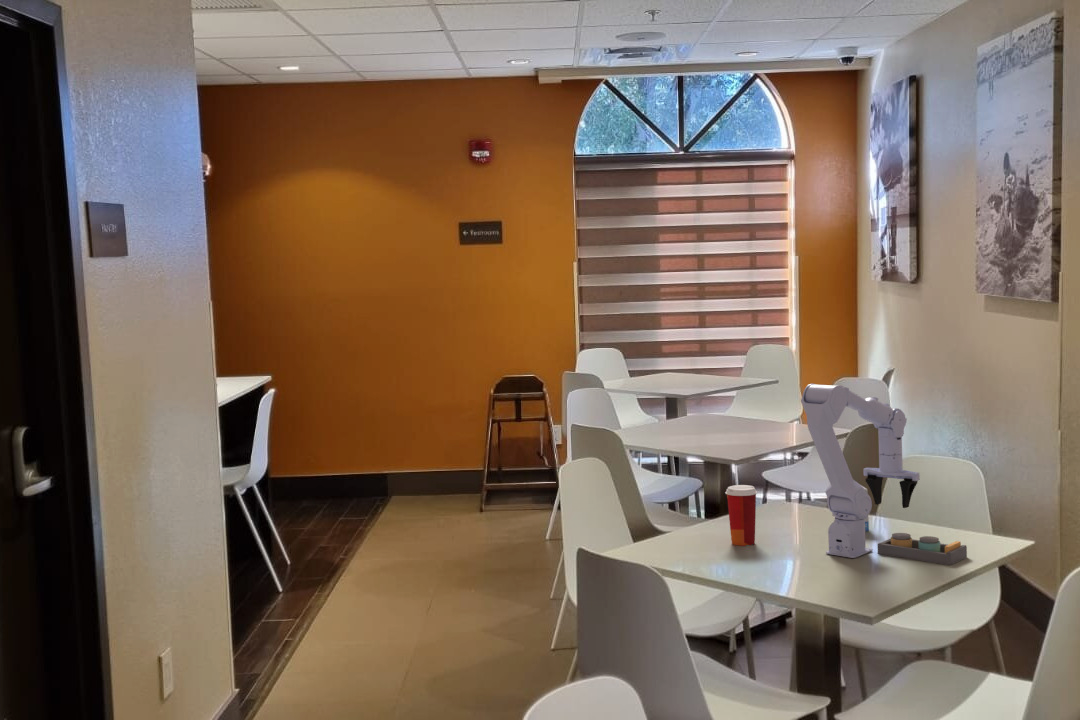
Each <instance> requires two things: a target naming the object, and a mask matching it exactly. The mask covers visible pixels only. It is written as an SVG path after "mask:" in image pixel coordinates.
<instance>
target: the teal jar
mask: <svg viewBox="0 0 1080 720" xmlns="http://www.w3.org/2000/svg"><path fill="white" fill-rule="evenodd" d="M918 540H919V541H918V547H919V549H922V550H929V551H935V552H940V543H941V541H940V539H939V537H938V536H937V537H936V536H928V535H926V536H925V535H924V536H921V537H919V539H918Z"/></svg>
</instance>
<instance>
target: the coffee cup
mask: <svg viewBox="0 0 1080 720" xmlns="http://www.w3.org/2000/svg"><path fill="white" fill-rule="evenodd" d="M724 493H725V495H726V497H727V508H728V509H727V510H728V519H729V528H730V529H729V530H730V540H731V544H732V545H734V546H737V545H738V547H747V546H746V545H750V546H753V545H755V543H756V541H755V540H756V516H757V515H756V510H757V509H756V508H757V507H756V506H757V505H756V503H757V494H758V491H757V490H756V488H755V486H753V485H747V484H735V485H730V486H727V488H726V491H725V492H724ZM752 544H753V545H752Z"/></svg>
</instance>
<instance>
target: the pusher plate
mask: <svg viewBox="0 0 1080 720" xmlns="http://www.w3.org/2000/svg"><path fill="white" fill-rule="evenodd" d="M961 544H962V543H961V541H958V540H956V541H953V542H951V543H949V544H948V545H947V546H945V553H947V552H948V551H950V550H953V549H955V548H957V547H959V546H961Z"/></svg>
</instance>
